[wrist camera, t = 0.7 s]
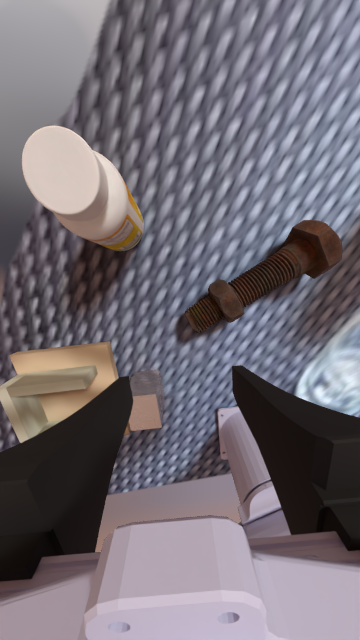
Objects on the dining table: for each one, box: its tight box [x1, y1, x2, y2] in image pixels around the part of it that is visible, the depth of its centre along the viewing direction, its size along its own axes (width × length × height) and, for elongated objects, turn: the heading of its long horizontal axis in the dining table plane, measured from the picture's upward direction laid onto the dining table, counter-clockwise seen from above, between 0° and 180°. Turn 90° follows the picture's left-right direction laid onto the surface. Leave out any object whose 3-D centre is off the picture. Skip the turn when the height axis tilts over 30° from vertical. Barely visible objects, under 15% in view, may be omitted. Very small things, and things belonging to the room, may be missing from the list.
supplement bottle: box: [22, 126, 144, 251], centre depth 14 cm, size 5×5×10 cm
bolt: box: [185, 220, 342, 333], centre depth 18 cm, size 6×5×15 cm
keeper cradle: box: [0, 341, 131, 443], centre depth 22 cm, size 14×12×4 cm
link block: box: [129, 369, 165, 431], centre depth 21 cm, size 4×4×5 cm
